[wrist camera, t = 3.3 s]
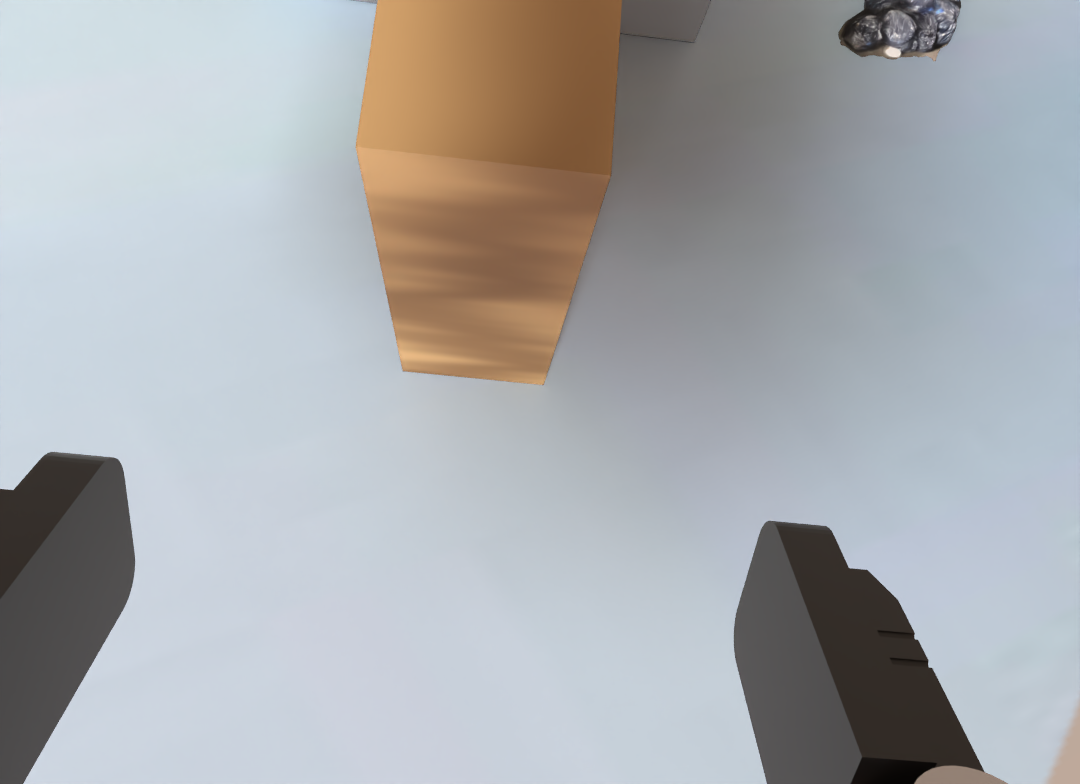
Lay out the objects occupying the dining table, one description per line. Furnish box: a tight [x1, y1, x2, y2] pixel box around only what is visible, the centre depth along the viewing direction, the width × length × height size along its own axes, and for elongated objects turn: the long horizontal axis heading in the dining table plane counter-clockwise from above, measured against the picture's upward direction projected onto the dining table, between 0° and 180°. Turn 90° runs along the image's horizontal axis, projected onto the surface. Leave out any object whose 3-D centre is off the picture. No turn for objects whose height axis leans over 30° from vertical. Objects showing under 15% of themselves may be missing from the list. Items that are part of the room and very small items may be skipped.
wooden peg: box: [356, 0, 622, 385], centre depth 20 cm, size 4×4×12 cm
